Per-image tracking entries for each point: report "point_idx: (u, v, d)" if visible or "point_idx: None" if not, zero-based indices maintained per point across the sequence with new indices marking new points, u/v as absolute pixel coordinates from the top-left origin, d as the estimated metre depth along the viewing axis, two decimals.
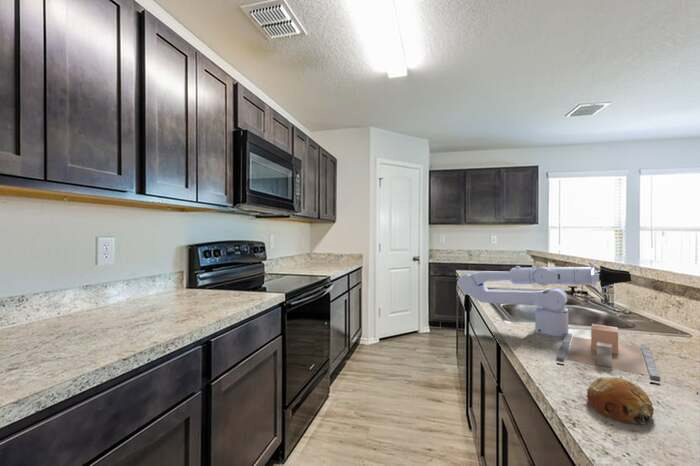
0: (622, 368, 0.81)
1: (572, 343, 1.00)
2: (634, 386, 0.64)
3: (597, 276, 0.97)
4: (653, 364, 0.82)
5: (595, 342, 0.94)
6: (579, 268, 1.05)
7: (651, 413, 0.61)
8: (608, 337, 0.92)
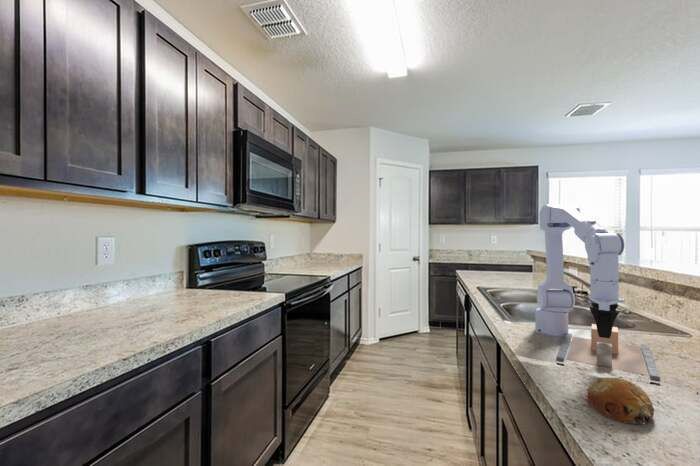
0: (622, 368, 0.81)
1: (572, 343, 1.00)
2: (634, 386, 0.64)
3: (607, 309, 0.78)
4: (653, 364, 0.82)
5: (595, 342, 0.94)
6: (616, 287, 0.82)
7: (651, 413, 0.61)
8: None
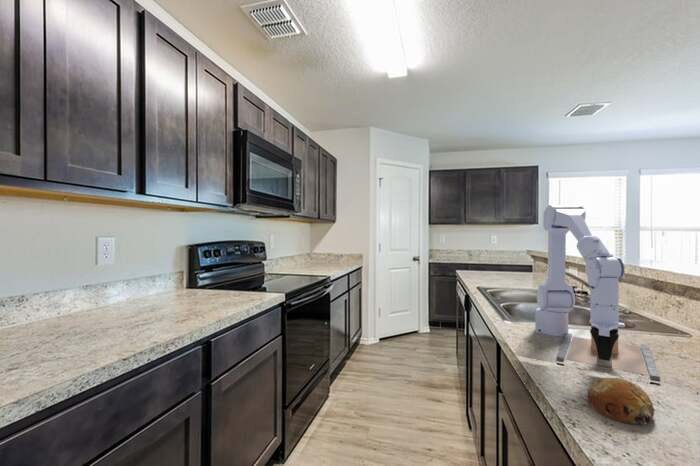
0: (622, 368, 0.81)
1: (572, 343, 1.00)
2: (635, 386, 0.64)
3: (607, 334, 0.78)
4: (653, 364, 0.82)
5: None
6: (616, 311, 0.82)
7: (652, 413, 0.61)
8: None
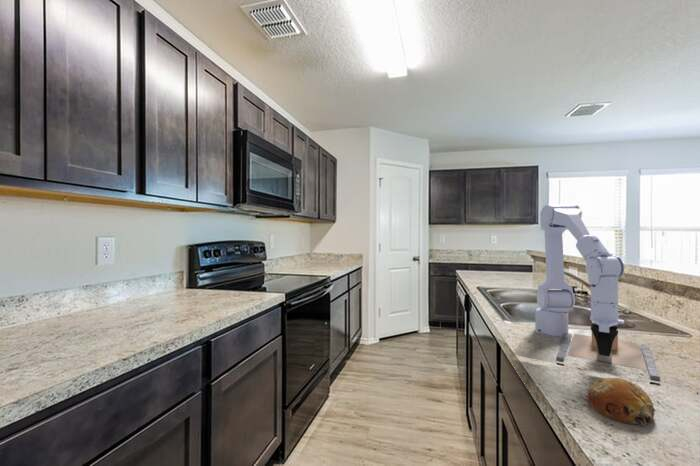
0: (621, 363, 0.84)
1: (573, 340, 1.03)
2: (635, 386, 0.63)
3: (606, 331, 0.81)
4: (653, 364, 0.82)
5: (595, 339, 0.97)
6: (616, 309, 0.85)
7: (652, 414, 0.61)
8: None
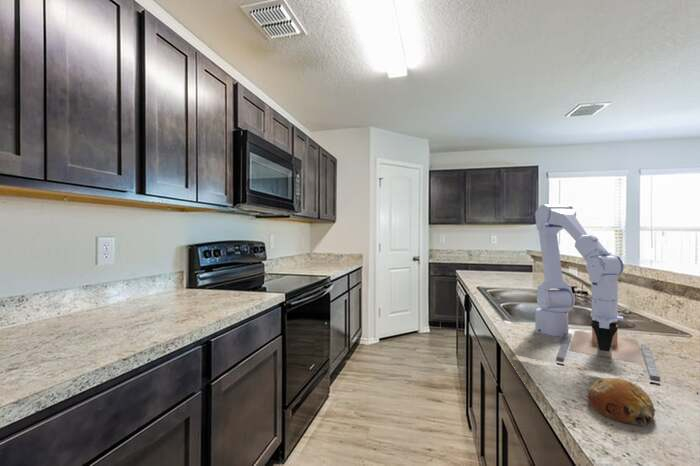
0: (621, 358, 0.88)
1: (574, 336, 1.06)
2: (635, 387, 0.63)
3: (606, 327, 0.84)
4: (653, 364, 0.82)
5: None
6: (616, 306, 0.88)
7: (652, 414, 0.61)
8: None
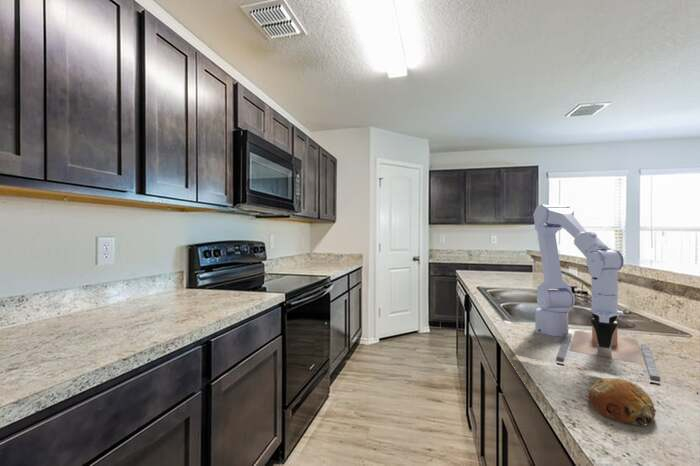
0: (621, 358, 0.88)
1: (574, 336, 1.06)
2: (636, 387, 0.63)
3: (606, 321, 0.84)
4: (653, 364, 0.82)
5: (596, 335, 1.00)
6: (616, 300, 0.88)
7: (653, 414, 0.61)
8: None
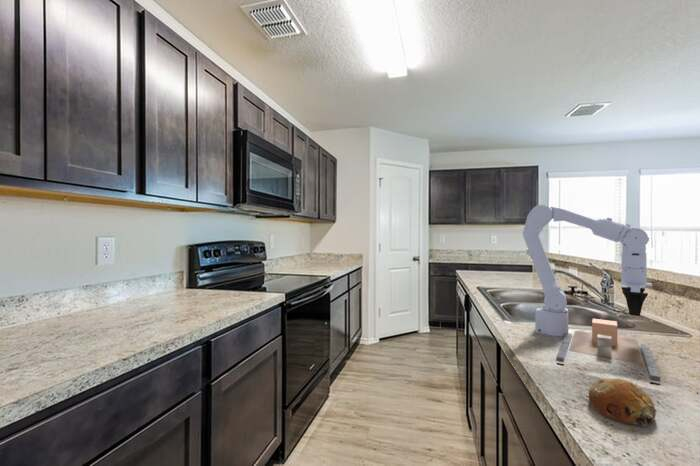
0: (621, 358, 0.88)
1: (574, 336, 1.06)
2: (636, 387, 0.63)
3: (638, 291, 0.93)
4: (653, 364, 0.82)
5: (596, 335, 1.00)
6: (645, 273, 0.97)
7: (653, 414, 0.60)
8: (608, 330, 0.99)
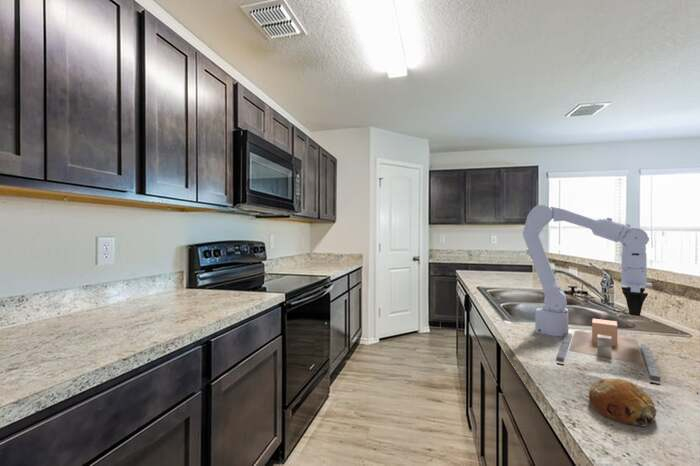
0: (621, 358, 0.88)
1: (574, 336, 1.06)
2: (636, 387, 0.63)
3: (638, 291, 0.93)
4: (653, 364, 0.82)
5: (596, 335, 1.00)
6: (645, 273, 0.97)
7: (654, 415, 0.60)
8: (608, 330, 0.99)
